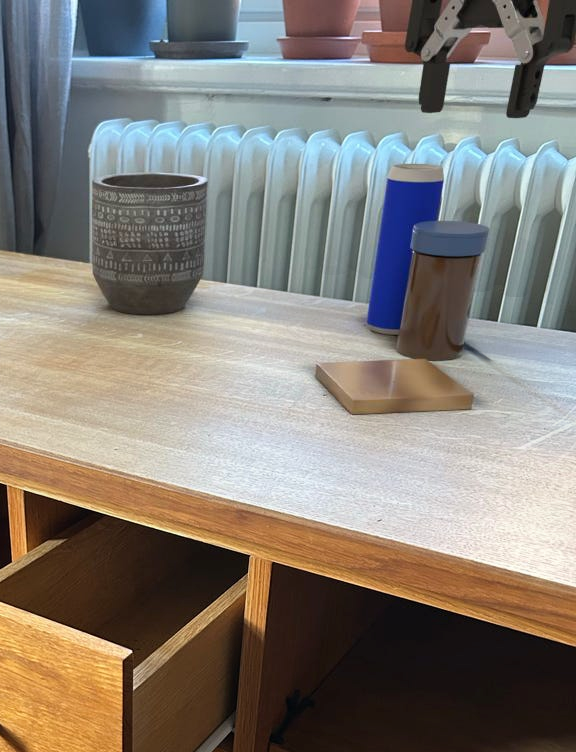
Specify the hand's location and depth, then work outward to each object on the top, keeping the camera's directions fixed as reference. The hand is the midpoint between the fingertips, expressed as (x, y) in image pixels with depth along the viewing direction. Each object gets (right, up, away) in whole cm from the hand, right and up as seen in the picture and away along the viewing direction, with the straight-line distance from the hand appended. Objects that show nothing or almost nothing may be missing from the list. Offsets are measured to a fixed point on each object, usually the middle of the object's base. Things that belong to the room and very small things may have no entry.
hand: (472, 114), depth 80 cm
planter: (-26, -7, +26) cm, 38 cm away
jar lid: (0, -8, +5) cm, 9 cm away
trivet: (-7, -23, +1) cm, 24 cm away
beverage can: (-1, -13, +18) cm, 22 cm away
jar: (0, -17, +11) cm, 20 cm away
